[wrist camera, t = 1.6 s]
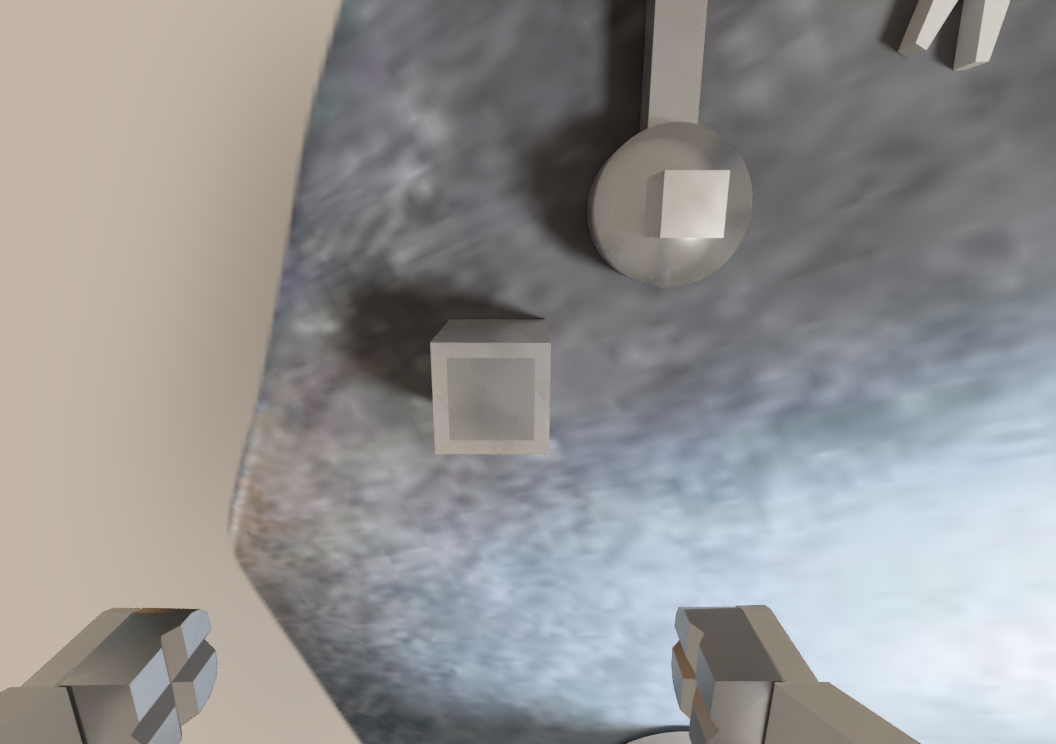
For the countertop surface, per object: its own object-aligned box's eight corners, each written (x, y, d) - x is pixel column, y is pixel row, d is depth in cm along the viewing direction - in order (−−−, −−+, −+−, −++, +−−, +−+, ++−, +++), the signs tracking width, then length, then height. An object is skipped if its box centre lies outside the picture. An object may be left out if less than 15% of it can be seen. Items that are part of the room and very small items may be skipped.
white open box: (544, 409, 29) (548, 454, 23) (453, 408, 29) (435, 453, 23) (545, 319, 27) (550, 343, 22) (450, 318, 27) (430, 342, 22)
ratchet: (719, 281, 27) (773, 295, 21) (584, 281, 27) (600, 294, 21) (772, -250, 21) (865, -430, 15) (601, -252, 21) (630, -434, 15)
